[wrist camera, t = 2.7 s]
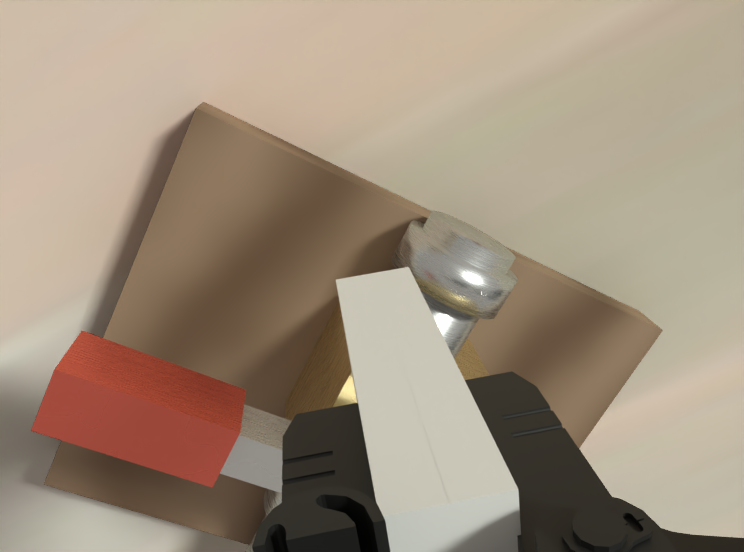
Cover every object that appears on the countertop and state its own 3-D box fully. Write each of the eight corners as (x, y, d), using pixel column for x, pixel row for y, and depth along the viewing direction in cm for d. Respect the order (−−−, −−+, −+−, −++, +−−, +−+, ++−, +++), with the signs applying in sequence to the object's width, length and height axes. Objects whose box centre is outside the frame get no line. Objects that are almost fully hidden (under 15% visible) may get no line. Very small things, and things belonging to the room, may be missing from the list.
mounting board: (640, 311, 30) (662, 330, 28) (456, 577, 35) (465, 608, 33) (203, 102, 24) (196, 108, 23) (59, 455, 29) (43, 484, 28)
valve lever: (453, 456, 21) (470, 502, 19) (416, 514, 22) (429, 564, 20) (85, 321, 18) (58, 359, 16) (56, 394, 19) (27, 439, 17)
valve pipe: (518, 246, 27) (593, 319, 20) (325, 567, 32) (333, 710, 25) (394, 186, 25) (430, 244, 18) (213, 534, 30) (190, 677, 24)
